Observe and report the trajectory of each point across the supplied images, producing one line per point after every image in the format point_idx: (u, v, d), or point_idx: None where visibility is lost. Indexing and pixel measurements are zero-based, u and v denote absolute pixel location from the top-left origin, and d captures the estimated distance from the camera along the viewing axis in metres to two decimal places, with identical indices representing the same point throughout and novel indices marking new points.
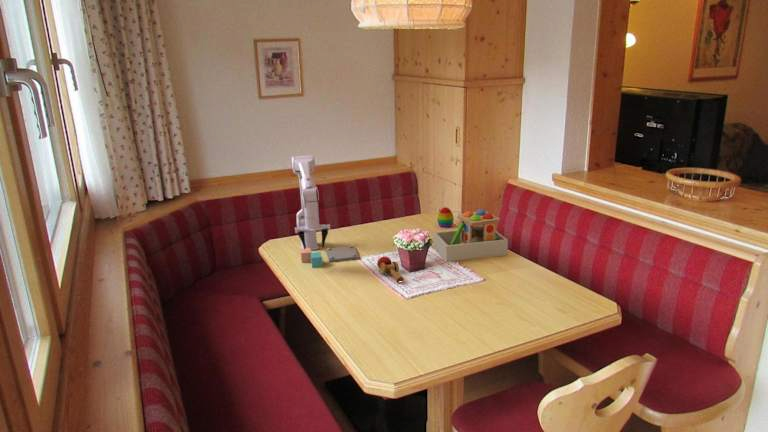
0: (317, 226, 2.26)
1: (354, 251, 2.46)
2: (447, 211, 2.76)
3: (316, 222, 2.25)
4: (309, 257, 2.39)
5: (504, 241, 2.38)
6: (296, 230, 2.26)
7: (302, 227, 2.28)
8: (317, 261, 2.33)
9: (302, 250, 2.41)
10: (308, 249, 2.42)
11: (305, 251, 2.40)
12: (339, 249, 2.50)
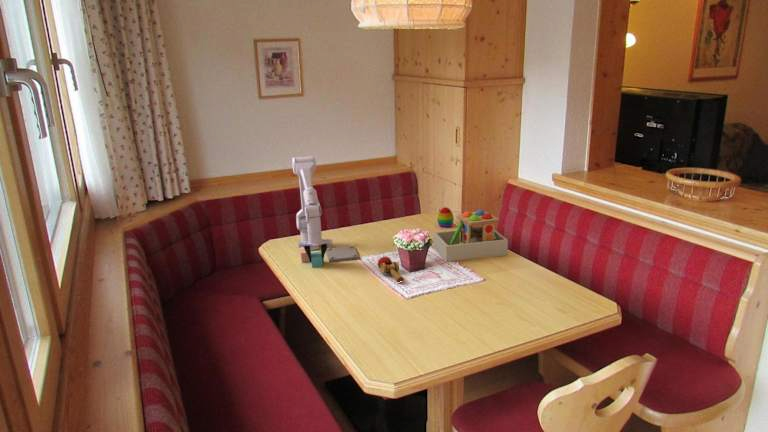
0: (320, 241, 2.31)
1: (354, 251, 2.46)
2: (447, 211, 2.76)
3: (319, 237, 2.31)
4: None
5: (504, 241, 2.38)
6: (299, 245, 2.31)
7: None
8: (317, 260, 2.33)
9: (302, 250, 2.41)
10: None
11: (305, 251, 2.40)
12: (339, 249, 2.50)
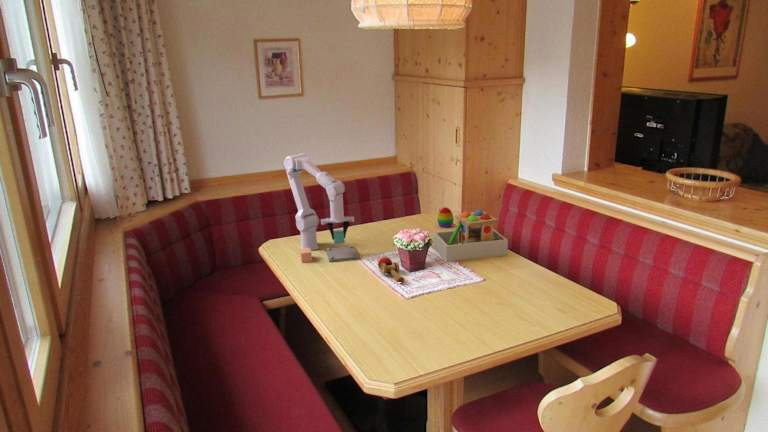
0: (342, 218, 2.38)
1: (354, 251, 2.46)
2: (447, 211, 2.76)
3: (341, 214, 2.37)
4: (309, 257, 2.39)
5: (504, 241, 2.38)
6: (322, 222, 2.38)
7: None
8: (339, 237, 2.39)
9: (302, 250, 2.41)
10: (308, 249, 2.42)
11: (305, 251, 2.40)
12: (339, 249, 2.50)
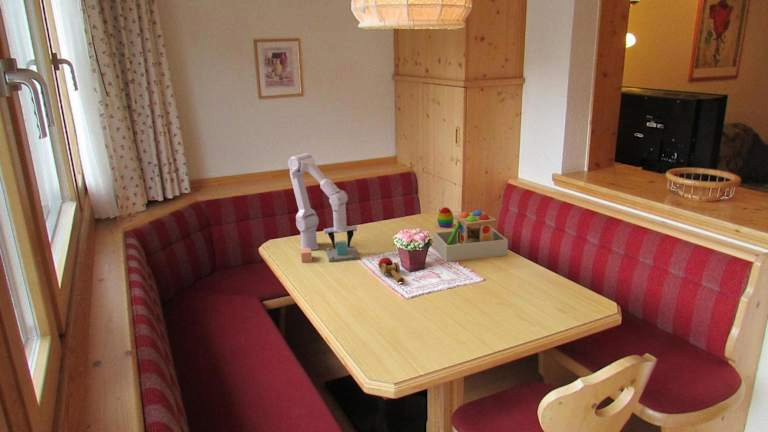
0: (345, 228, 2.40)
1: (354, 251, 2.46)
2: (447, 211, 2.76)
3: (344, 224, 2.40)
4: (309, 257, 2.39)
5: (504, 241, 2.38)
6: (325, 231, 2.40)
7: (330, 228, 2.43)
8: (342, 249, 2.42)
9: (302, 250, 2.41)
10: (308, 249, 2.42)
11: (305, 251, 2.40)
12: None
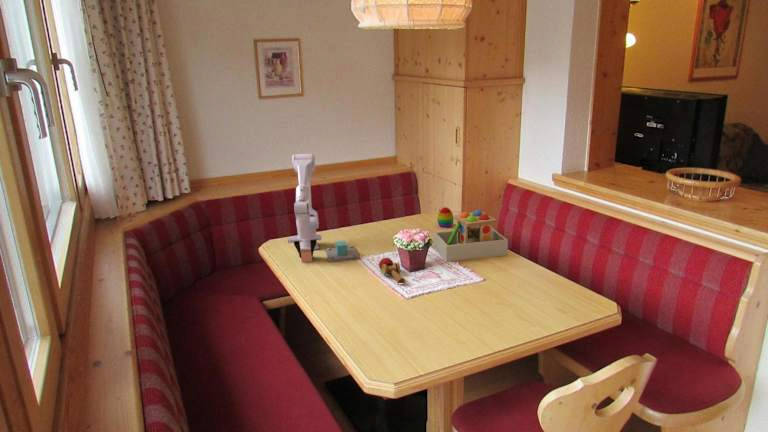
0: (309, 236, 2.37)
1: (354, 251, 2.46)
2: (447, 211, 2.76)
3: (308, 233, 2.36)
4: (309, 257, 2.39)
5: (504, 241, 2.38)
6: (289, 240, 2.37)
7: (295, 237, 2.40)
8: (342, 249, 2.42)
9: (302, 250, 2.41)
10: (308, 249, 2.42)
11: (305, 251, 2.40)
12: None
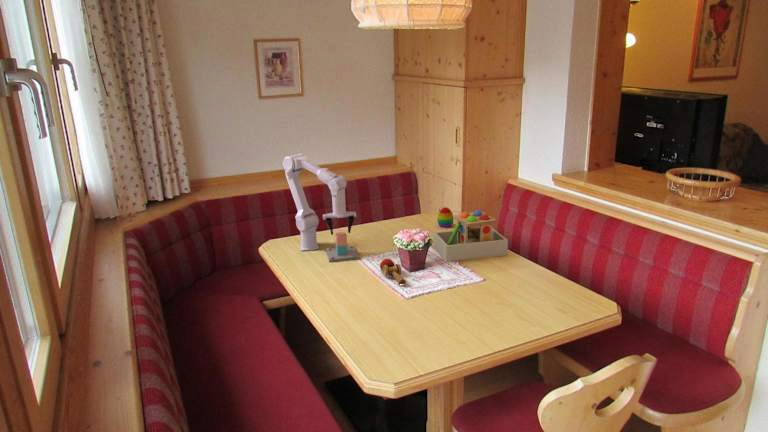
0: (344, 213, 2.38)
1: (354, 251, 2.46)
2: (447, 211, 2.76)
3: (343, 209, 2.38)
4: (344, 240, 2.41)
5: (504, 241, 2.38)
6: (324, 217, 2.38)
7: None
8: (342, 249, 2.42)
9: (337, 233, 2.43)
10: (343, 232, 2.44)
11: (340, 234, 2.42)
12: None
